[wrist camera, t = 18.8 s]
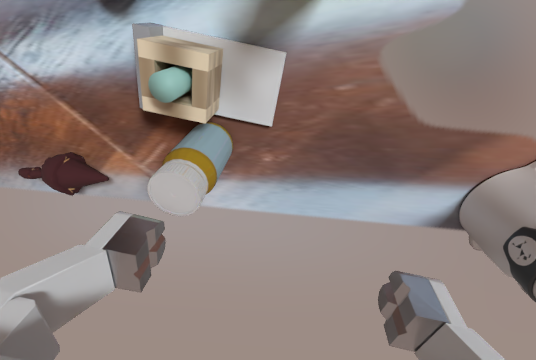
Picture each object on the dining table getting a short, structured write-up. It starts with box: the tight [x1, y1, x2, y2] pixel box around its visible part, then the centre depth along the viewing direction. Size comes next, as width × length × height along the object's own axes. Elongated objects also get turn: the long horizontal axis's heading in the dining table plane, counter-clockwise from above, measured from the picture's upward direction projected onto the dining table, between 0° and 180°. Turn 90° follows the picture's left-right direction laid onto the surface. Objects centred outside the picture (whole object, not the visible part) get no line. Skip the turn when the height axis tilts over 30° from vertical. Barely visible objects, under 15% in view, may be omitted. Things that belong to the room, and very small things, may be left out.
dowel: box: [148, 65, 192, 103], centre depth 32 cm, size 3×3×9 cm
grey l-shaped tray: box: [132, 23, 287, 127], centre depth 35 cm, size 18×10×4 cm, turn 80°
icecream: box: [18, 152, 109, 195], centre depth 45 cm, size 7×7×15 cm
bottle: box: [147, 122, 233, 216], centre depth 36 cm, size 7×7×15 cm
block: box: [137, 36, 223, 124], centre depth 33 cm, size 8×8×6 cm
